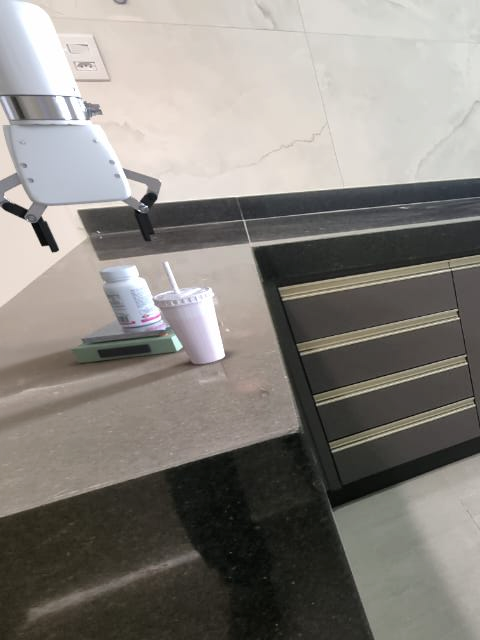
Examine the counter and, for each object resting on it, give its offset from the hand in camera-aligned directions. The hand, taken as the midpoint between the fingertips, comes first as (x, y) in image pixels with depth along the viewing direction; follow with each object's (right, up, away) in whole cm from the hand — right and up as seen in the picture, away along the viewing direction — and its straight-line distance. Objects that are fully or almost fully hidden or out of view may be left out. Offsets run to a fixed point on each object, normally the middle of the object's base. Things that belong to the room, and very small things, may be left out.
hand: (103, 245), depth 75 cm
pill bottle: (+1, -11, +5) cm, 12 cm away
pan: (+1, -11, +5) cm, 13 cm away
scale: (+1, -14, +6) cm, 15 cm away
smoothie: (+16, -16, 0) cm, 23 cm away
